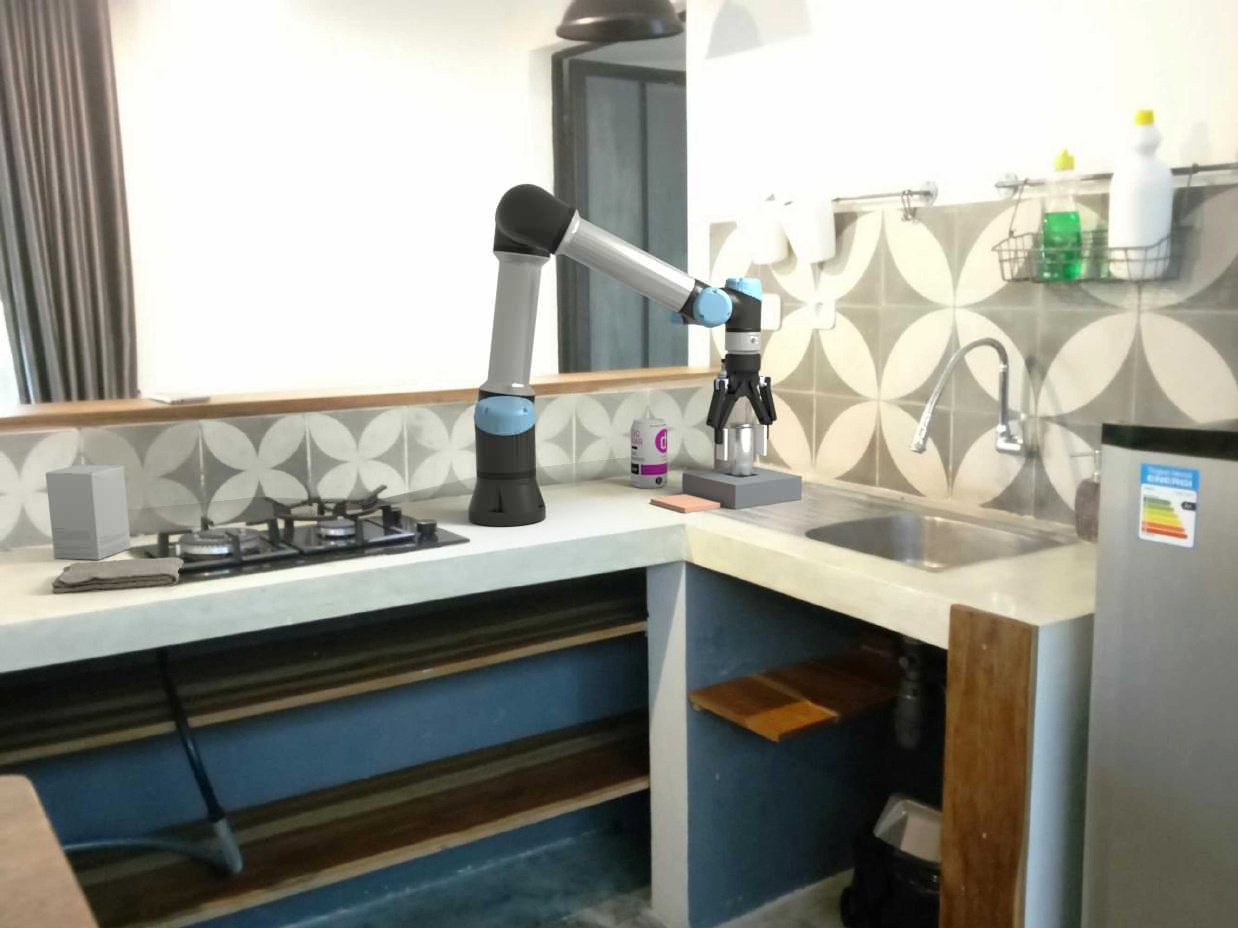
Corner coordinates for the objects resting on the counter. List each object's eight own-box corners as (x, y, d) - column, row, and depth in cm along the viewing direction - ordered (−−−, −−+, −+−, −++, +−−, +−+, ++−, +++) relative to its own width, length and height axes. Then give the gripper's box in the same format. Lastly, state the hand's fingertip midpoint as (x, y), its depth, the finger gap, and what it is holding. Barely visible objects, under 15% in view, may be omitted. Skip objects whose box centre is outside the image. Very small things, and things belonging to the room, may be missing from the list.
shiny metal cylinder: (739, 500, 230) (740, 425, 227) (724, 497, 234) (725, 423, 231) (757, 498, 233) (758, 423, 230) (742, 494, 237) (743, 421, 234)
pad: (684, 513, 218) (684, 508, 218) (650, 503, 228) (650, 498, 228) (720, 507, 223) (720, 503, 223) (685, 498, 233) (685, 494, 232)
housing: (735, 509, 221) (735, 485, 220) (682, 495, 236) (682, 472, 235) (801, 499, 231) (801, 476, 230) (746, 486, 246) (746, 464, 245)
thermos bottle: (750, 473, 262) (751, 357, 258) (744, 479, 255) (745, 359, 250) (717, 472, 265) (718, 357, 260) (710, 478, 257) (711, 359, 252)
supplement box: (133, 548, 192) (126, 464, 189) (99, 561, 183) (91, 473, 181) (87, 546, 194) (80, 463, 191) (52, 558, 185) (43, 471, 182)
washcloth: (66, 578, 174) (64, 559, 173) (186, 569, 179) (184, 551, 178) (50, 598, 163) (48, 578, 162) (178, 589, 168) (177, 569, 167)
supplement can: (673, 484, 249) (673, 419, 247) (655, 490, 242) (655, 423, 240) (643, 481, 254) (642, 417, 251) (624, 486, 247) (624, 421, 244)
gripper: (711, 355, 219) (710, 464, 223) (795, 351, 231) (793, 454, 235) (688, 353, 225) (688, 459, 229) (772, 349, 238) (770, 450, 241)
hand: (741, 457), depth 232 cm, fingers open, 10 cm apart
